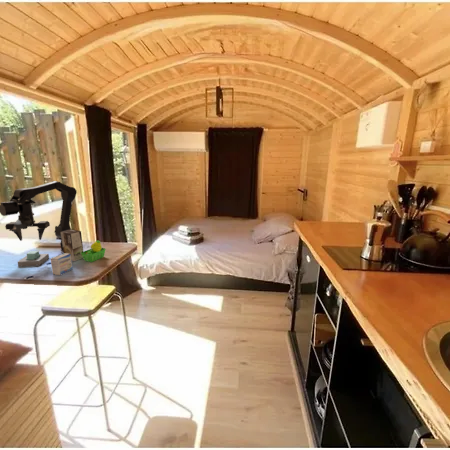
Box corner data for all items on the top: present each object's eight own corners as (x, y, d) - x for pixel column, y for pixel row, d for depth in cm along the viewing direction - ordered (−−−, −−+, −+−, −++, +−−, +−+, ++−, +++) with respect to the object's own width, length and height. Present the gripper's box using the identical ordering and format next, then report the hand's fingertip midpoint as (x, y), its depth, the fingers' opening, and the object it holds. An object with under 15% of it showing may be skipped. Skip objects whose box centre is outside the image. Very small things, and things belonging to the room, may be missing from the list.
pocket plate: (49, 257, 145) (48, 253, 144) (39, 265, 134) (39, 260, 134) (29, 258, 143) (28, 254, 142) (18, 266, 132) (17, 261, 132)
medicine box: (60, 275, 123) (57, 259, 121) (52, 274, 124) (50, 258, 122) (72, 269, 131) (70, 253, 129) (65, 268, 132) (63, 252, 129)
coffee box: (84, 257, 146) (81, 231, 142) (74, 261, 141) (70, 233, 137) (74, 254, 150) (71, 228, 146) (63, 258, 144) (60, 231, 140)
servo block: (41, 259, 142) (40, 250, 141) (35, 264, 136) (33, 254, 134) (33, 259, 141) (31, 250, 140) (26, 264, 135) (24, 254, 133)
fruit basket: (97, 254, 152) (95, 236, 149) (108, 256, 149) (107, 238, 146) (81, 261, 141) (78, 242, 138) (93, 263, 138) (91, 244, 135)
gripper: (-4, 216, 125) (2, 245, 129) (38, 215, 130) (43, 243, 133) (8, 211, 136) (14, 239, 140) (48, 210, 140) (52, 237, 144)
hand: (30, 240), depth 139 cm, fingers open, 9 cm apart
